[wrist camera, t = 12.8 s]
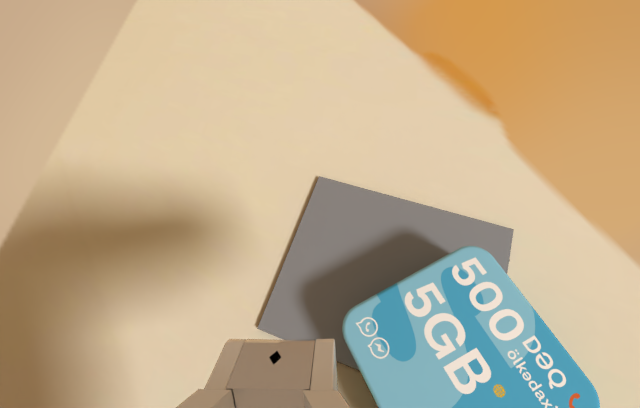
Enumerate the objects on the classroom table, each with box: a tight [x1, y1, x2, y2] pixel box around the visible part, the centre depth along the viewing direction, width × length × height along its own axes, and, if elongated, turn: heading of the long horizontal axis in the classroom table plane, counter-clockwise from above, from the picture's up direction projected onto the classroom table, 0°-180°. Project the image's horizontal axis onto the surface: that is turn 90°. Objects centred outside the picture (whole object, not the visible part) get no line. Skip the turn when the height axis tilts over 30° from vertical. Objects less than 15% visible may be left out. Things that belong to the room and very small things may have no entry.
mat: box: [257, 176, 513, 371], centre depth 27 cm, size 15×18×1 cm
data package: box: [342, 246, 600, 408], centre depth 22 cm, size 12×4×12 cm
